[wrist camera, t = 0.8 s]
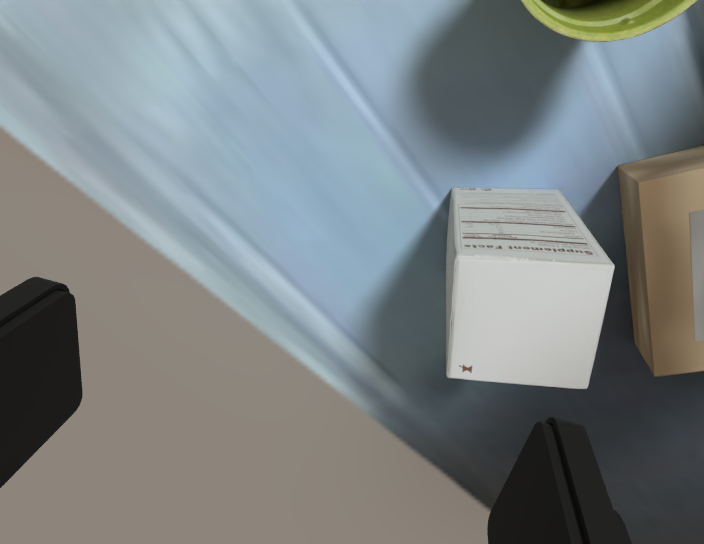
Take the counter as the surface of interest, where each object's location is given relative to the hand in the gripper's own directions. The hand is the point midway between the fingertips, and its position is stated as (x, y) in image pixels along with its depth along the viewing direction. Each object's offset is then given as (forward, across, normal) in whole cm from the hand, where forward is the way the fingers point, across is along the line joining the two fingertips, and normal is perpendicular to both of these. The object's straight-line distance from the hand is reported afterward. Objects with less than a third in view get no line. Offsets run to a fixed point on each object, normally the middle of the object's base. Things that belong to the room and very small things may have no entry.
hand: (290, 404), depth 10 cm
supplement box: (+27, -8, +5) cm, 29 cm away
